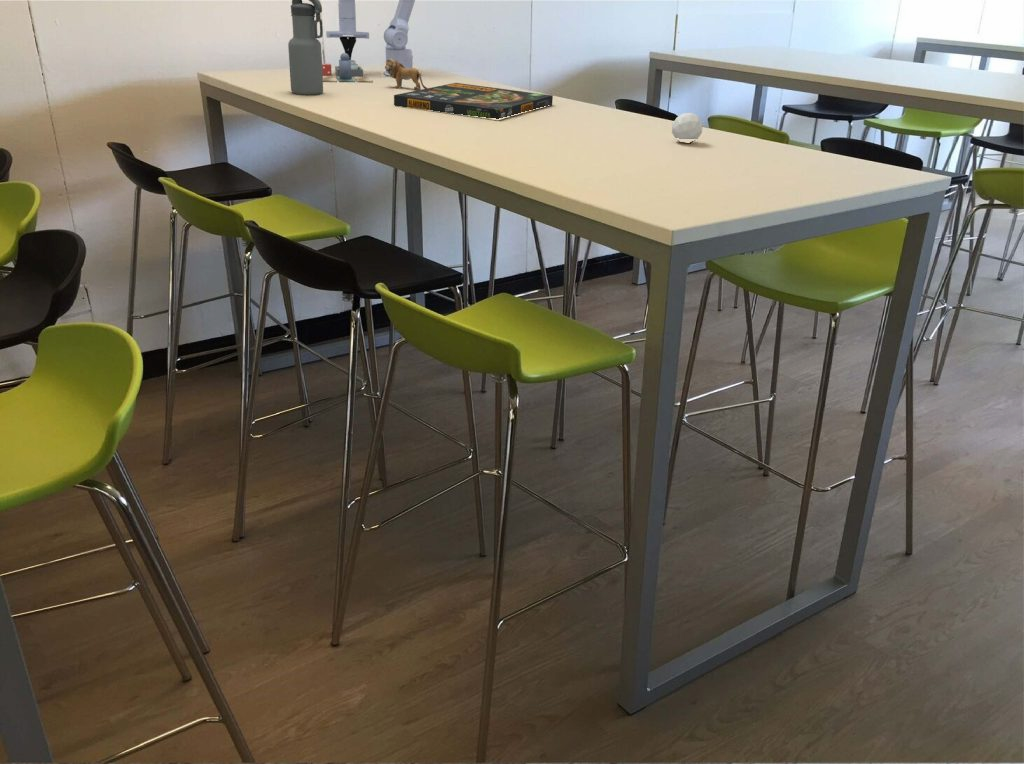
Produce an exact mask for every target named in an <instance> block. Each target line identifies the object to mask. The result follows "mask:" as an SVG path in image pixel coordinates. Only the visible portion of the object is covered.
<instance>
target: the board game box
mask: <svg viewBox="0 0 1024 764" xmlns="http://www.w3.org/2000/svg"><path fill="white" fill-rule="evenodd" d="M553 97H554V95H552V94H551V95H550V94H544V93H537V92H529V91H522V90H514V89H508V88H507V89H506V88H501V87H500V88H499V87H491V86H485V85H484V86H483V85H474V84H468V83H460V82H453V83H447V84H442V85H438V86H432V87H427V89H424V88H421V89H420V90H417V89H416V90H413V91H412V90H411V91H407V92H403V93H398V94H397V93H396V94H393V106H394V105H395V107H399V106H402V107H401V108H406V107H410V108H409V109H413V108H419V109H418V110H420V109H426V110H425V111H427V110H433V111H432V112H434V111H440V112H439V113H441V112H447V113H454V114H463V115H470V116H478V117H486V118H496V119H499V118H503V117H507V116H511V115H514V114H518V113H521V112H525V111H529V110H533V109H536V108H540V107H544V106H548V105H552V106H553V100H554V98H553ZM548 107H549V106H548ZM447 113H446V114H447ZM454 114H453V115H454Z"/></svg>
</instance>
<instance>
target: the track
mask: <svg viewBox="0 0 1024 764" xmlns="http://www.w3.org/2000/svg"><path fill="white" fill-rule="evenodd" d="M351 78H352V79H349V80H344V79H340V77H338V76H336V77H335V76H334V75H333V76H330V75H323V83H337V82H339V83H355V82H357V83H374V82H373V79H371V78H370V77H369V76H363V77H351Z"/></svg>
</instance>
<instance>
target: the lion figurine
mask: <svg viewBox="0 0 1024 764" xmlns="http://www.w3.org/2000/svg"><path fill="white" fill-rule="evenodd" d="M384 69H385V71H386V72H388V73H389V74H390V75H391V78H392V79H395V82H396V85H395V86H394V88H395V89H400V88H402V84H403V80H405V81H409V80H411V81H412V82H413V83H414V84H415V86H414V87H413V89H415V90H416V91H417V90H422V89H427V88H428V87H427V86H425V85H424V83H423V79H422V75H421V73H420V71H419V69H418V68H416V67H413V68H410V69H407V68H405V67H404V66H403V65H402V64H401V63H399V62H398V61H396V60H394V59H388V60H386V59H385V66H384ZM419 81H420V82H419ZM421 87H423V88H421Z"/></svg>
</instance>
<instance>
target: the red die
mask: <svg viewBox="0 0 1024 764" xmlns="http://www.w3.org/2000/svg"><path fill="white" fill-rule="evenodd" d="M322 74H323V76H332V64H331V63H322Z"/></svg>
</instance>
